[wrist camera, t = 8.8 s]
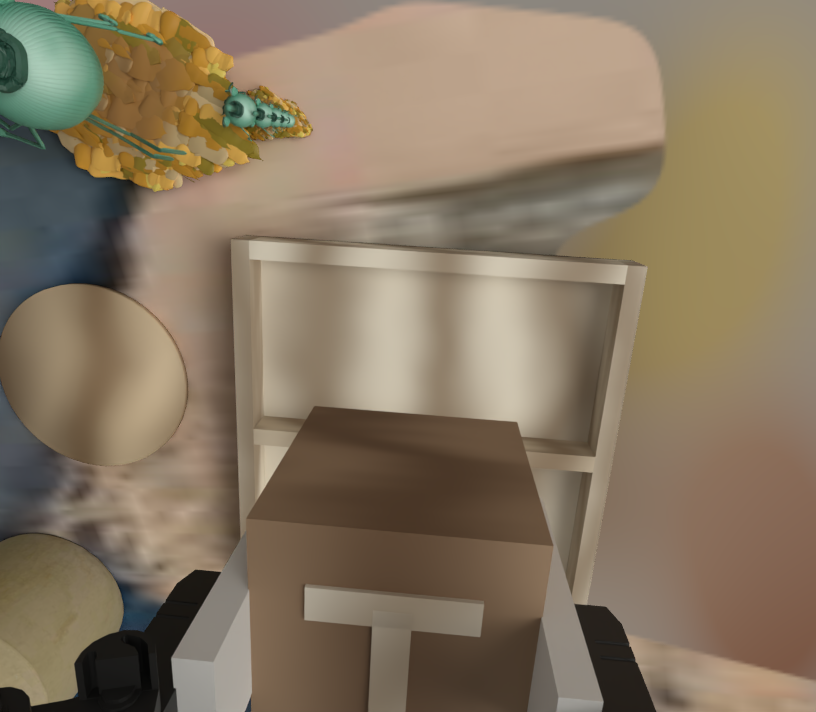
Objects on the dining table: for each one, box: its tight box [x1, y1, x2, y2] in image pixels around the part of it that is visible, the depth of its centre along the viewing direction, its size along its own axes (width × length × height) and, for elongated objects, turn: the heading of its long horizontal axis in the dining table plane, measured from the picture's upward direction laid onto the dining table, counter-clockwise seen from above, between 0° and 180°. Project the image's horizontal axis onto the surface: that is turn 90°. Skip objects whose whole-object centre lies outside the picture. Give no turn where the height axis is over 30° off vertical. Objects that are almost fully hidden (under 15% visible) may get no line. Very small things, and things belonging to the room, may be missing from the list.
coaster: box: [0, 283, 188, 466], centre depth 36 cm, size 12×12×1 cm
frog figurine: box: [0, 0, 313, 192], centre depth 25 cm, size 10×18×15 cm, turn 66°
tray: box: [231, 235, 647, 605], centre depth 35 cm, size 22×23×2 cm
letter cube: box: [246, 406, 554, 712], centre depth 15 cm, size 6×6×6 cm
